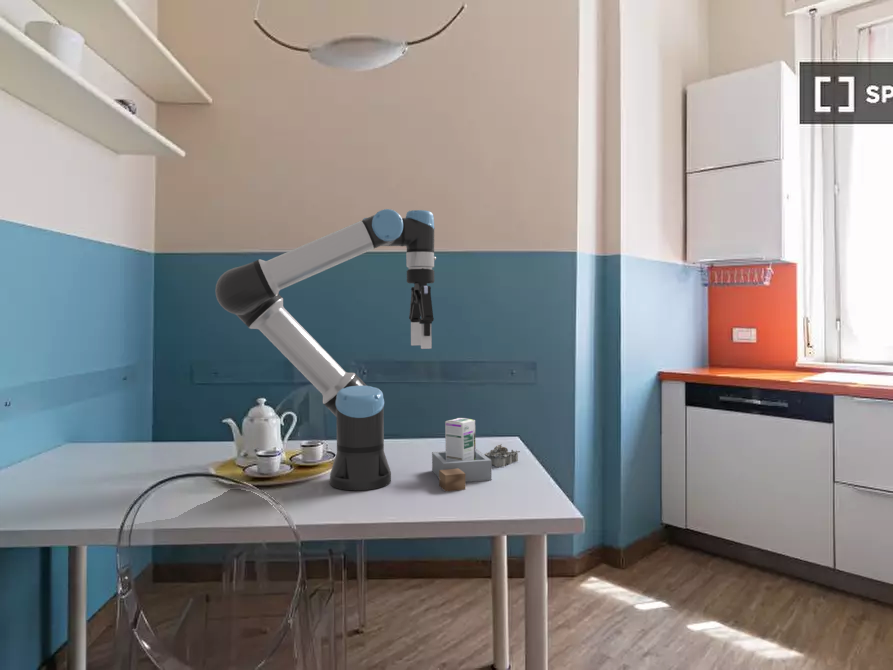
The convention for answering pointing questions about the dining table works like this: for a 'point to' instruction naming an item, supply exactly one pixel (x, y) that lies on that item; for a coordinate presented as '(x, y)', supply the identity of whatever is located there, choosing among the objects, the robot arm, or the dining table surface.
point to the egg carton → (502, 456)
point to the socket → (464, 466)
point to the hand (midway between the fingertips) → (420, 347)
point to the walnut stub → (452, 479)
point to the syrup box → (460, 440)
